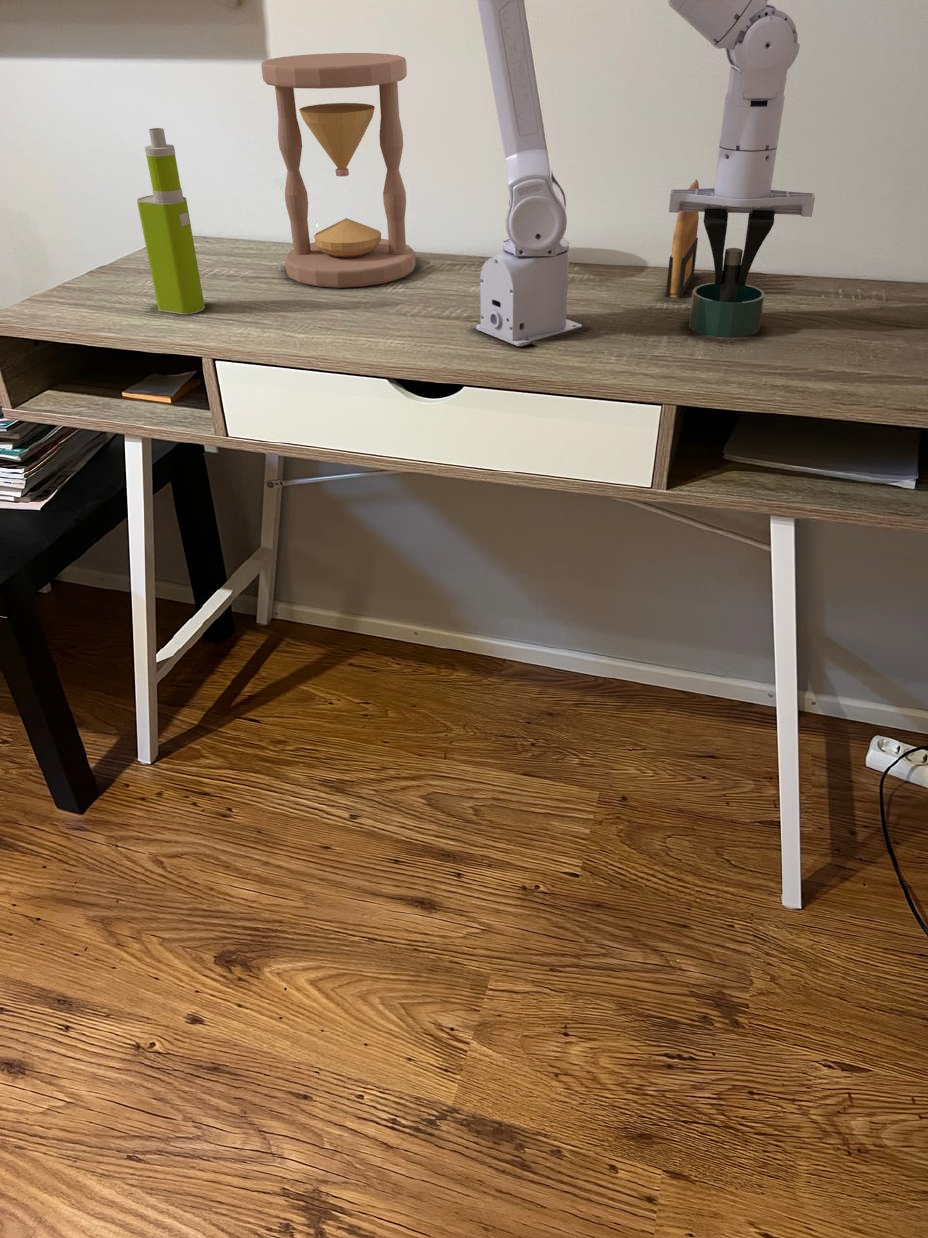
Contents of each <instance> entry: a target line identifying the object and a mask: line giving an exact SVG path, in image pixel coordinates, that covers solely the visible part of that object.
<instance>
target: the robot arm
mask: <svg viewBox="0 0 928 1238" xmlns="http://www.w3.org/2000/svg"><path fill="white" fill-rule="evenodd" d="M667 1H668V6H669V7H670V8H671V9H672V10H674V11H675V13H677V14H678V15H679V16H680V17H681V18H682V19H683V20H685V21H686V23H688V24H689V25H690V26H691V27H693V29H694V30H696V31H697V32H698V33H699V34H700V35H701V36H702V37H703V38H704V39H706V40H707V41H708V42H709V43H710V44H711V45H712V46H713V47H714V48H715V49H719V50H721V49H725V50H724V51H725V55H726V58H727V60H728V62H729V64H730V65H731V66H730V67H729V76H728V82H727V83H728V85H727V91H726V94H725V96H724V103H723V110H722V111H723V112H722V121H721V129H720V137H719V146H718V154H717V163H716V170H715V171H716V172H715V177H714V178H715V179H714V187H710V188H708V187H707V188H699V189H689V188H687V189H685V188H684V189H682V188H681V189H679V188H678V189H676V188H675V189H674V188H673V189H671V190H670V193H669V206H668V213H677V214H678V212H679V211H691V212H698V213H703V225H704V229H705V232H706V235H707V237H708V241H709V245H710V249H711V253H712V259H713V265H714V283H715V285H721V283H722V274H723V266H724V254H725V252H724V251H725V245H726V237H727V230H728V220H729V214H730V213H731V214H748V217H747V224H746V225H747V227H746V233H745V241H744V242H745V243H744V248H743V253H742V260H741V267H740V274H739V281H738V286H745V284H746V282H747V279H748V275H749V272H750V270H751V268H752V264H753V263H754V260H755V259H756V256H757V254H758V253H759V252H758V251H759V250H760V248H761V247H762V245H763V243H764V241H765V239H766V238H767V236H768V235H769V234H770V232H771V230H772V229H773V227H774V224H775V215H792V216H793V215H794V216H795V215H796V216H800V217H805V218H806V217H808V218H809V217H813V212H814V206H815V200H816V197H815V193H814V192H799V191H788V190H779V189H772V184H773V177H774V170H775V164H776V159H777V158H776V156H777V152H778V151H777V150H778V145H779V138H780V132H781V125H782V120H783V119H782V118H783V112H784V105H785V100H786V99H785V88H786V85H787V80H788V79H787V78H788V77H787V75H788V70H790V68H791V67H792V66H793V64H794V63H795V60H796V59H797V56H798V54H799V53H800V52H799V51H800V47H801V44H800V43H798V32H797V27H796V24H795V22H794V20H793V19H792V18H791V16H790V15H788V14H787V13H786V12H784V11H782V10H779V9H777V8H776V7H775V6H774V5H772V4H768V2H769V0H667ZM476 2H477V7H478V13H479V19H480V25H481V30H482V36H483V41H484V48H485V53H486V58H487V64H488V70H489V74H490V75H489V76H490V80H491V81H490V82H491V86H492V93H493V97H494V103H495V109H496V114H497V120H498V125H499V132H500V137H501V142H502V147H503V154H504V159H505V171H506V182H507V188H508V194H509V199H508V209H507V212H506V215H505V229H506V233H507V236H508V237H506V238H504V239H503V242H502V249H501V250H500V252H499V253H498V254H497V255H495V256H493V257H490V258H488V259H487V260H486V261H485V262H484V263H483V265H482V267H481V270H480V275H479V307H480V308H479V309H480V310H479V315H480V316H479V317H480V320H479V322H480V323H479V324H477V325H476V326H475V329H476V330H477V331H479V332H481V333H483V334H486V335H488V336H492V337H494V338H496V339H499V340H501V341H504V342H506V343H508V344H511V345H513V346H515V347H524V346H527V345H531V344H533V342H534V341H538V340H541V339H542V340H543V339H546V338H549V337H553V336H556V335H559V334H564V333H567V332H571V331H573V330H577V329H581V328H583V324H581V323H579V322H576V321H573V320H570V319H567V312H568V311H567V310H568V309H567V308H568V307H567V306H568V288H569V287H568V284H569V260H570V242H569V240H567V239H566V238H565V237H564V236H565V233H566V230H567V225H568V217H567V212H566V209H567V199H566V194H565V191H564V189H563V187H562V185H561V184H560V183H559V181H558V180H557V178H556V176H555V174H554V171H553V166H552V161H551V155H550V149H549V144H548V138H547V132H546V125H545V119H544V118H545V117H544V112H543V106H542V100H541V93H540V87H539V80H538V72H537V67H536V62H535V54H534V47H533V41H532V34H531V28H530V23H529V15H528V10H527V4H526V3H527V2H526V0H476Z"/></svg>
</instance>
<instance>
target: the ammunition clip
mask: <svg viewBox="0 0 928 1238" xmlns="http://www.w3.org/2000/svg"><path fill="white" fill-rule="evenodd" d="M688 189H700V186H699V181H698V179H695V180H694V182H692V184H691V185H690V186H689V188H688ZM699 213H700V212H691V211H679V212H678V213H677V216H676V221H675V228H674V231H673V235H672V246H671V253H670V254H671V255H670V256H669V259H668V269H667V279H666V289H665V298H668V297H669V298H675V299H676V298H678V299H681V298H682V297H683V295H684V293H685V292H686V290H687V288H688V286H689V285H690V283H691V281H692V279H693V277H694V275H695V271H696V270H695V268H696V260H697V250H698V241H699V238H698V229H699V228H698V227H699V220H700V217H699V215H700V214H699Z"/></svg>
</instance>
